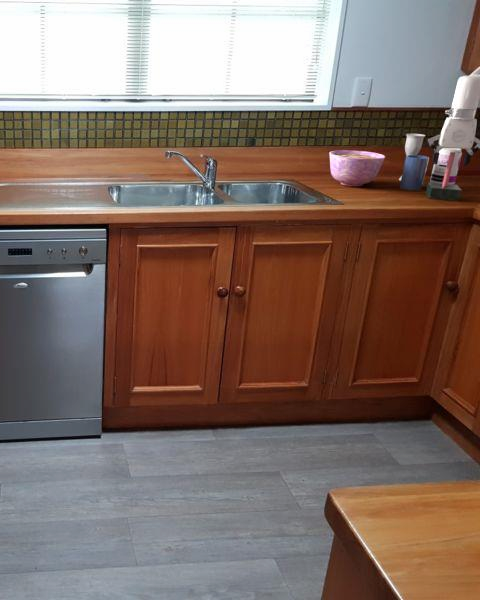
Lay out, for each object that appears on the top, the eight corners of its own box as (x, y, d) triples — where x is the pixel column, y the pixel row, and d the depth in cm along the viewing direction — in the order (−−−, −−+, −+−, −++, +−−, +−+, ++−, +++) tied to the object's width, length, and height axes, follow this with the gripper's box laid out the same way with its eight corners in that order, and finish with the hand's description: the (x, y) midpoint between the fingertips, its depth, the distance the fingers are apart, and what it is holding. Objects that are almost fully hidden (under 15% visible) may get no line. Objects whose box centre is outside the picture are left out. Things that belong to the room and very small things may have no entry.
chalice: (398, 177, 252) (407, 133, 245) (416, 179, 248) (426, 134, 241) (394, 180, 246) (404, 135, 239) (413, 182, 243) (423, 136, 236)
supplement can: (450, 187, 236) (460, 147, 230) (454, 191, 229) (465, 151, 223) (427, 185, 238) (436, 146, 232) (430, 189, 231) (440, 149, 225)
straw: (443, 197, 220) (455, 152, 214) (444, 197, 218) (455, 152, 212) (439, 196, 220) (449, 151, 214) (439, 197, 219) (450, 152, 213)
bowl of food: (389, 186, 236) (396, 156, 232) (359, 192, 226) (365, 160, 221) (344, 177, 251) (349, 148, 247) (313, 182, 241) (318, 152, 236)
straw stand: (454, 195, 222) (457, 184, 220) (458, 201, 214) (461, 190, 212) (425, 193, 225) (428, 182, 223) (429, 198, 217) (431, 187, 215)
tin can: (420, 187, 235) (427, 156, 230) (422, 191, 228) (430, 159, 224) (398, 185, 237) (405, 154, 233) (400, 189, 231) (407, 157, 226)
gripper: (435, 113, 208) (423, 164, 214) (494, 116, 202) (480, 168, 209) (432, 111, 214) (421, 161, 221) (489, 114, 209) (475, 165, 215)
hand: (449, 164), depth 215 cm, fingers open, 8 cm apart
